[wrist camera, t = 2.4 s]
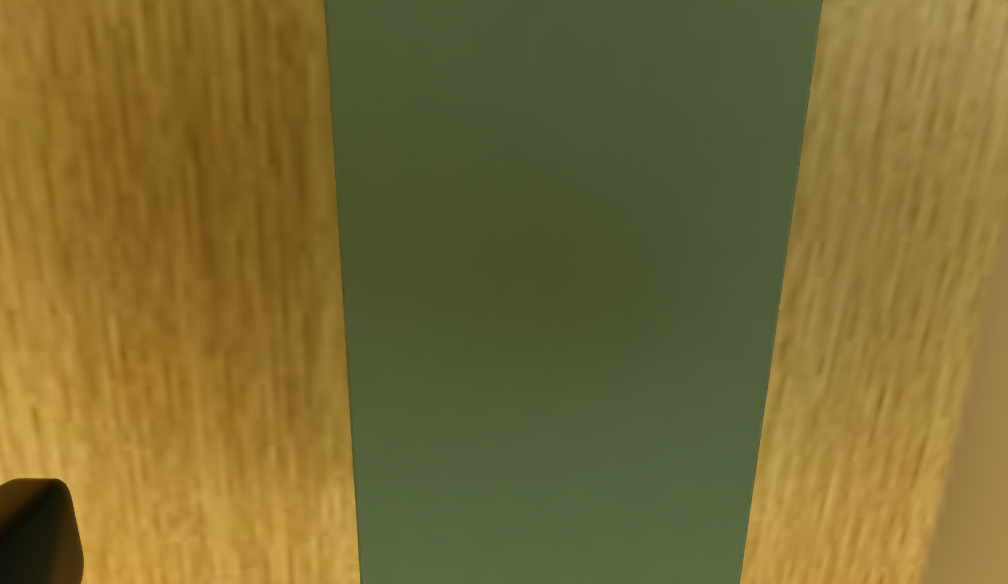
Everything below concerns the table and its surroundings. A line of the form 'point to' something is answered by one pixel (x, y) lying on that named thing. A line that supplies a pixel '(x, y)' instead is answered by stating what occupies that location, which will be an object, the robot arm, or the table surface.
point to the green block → (562, 278)
